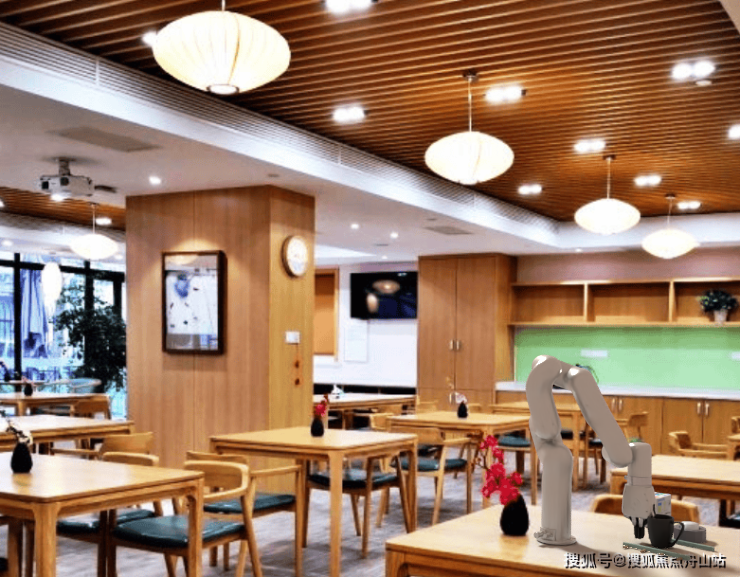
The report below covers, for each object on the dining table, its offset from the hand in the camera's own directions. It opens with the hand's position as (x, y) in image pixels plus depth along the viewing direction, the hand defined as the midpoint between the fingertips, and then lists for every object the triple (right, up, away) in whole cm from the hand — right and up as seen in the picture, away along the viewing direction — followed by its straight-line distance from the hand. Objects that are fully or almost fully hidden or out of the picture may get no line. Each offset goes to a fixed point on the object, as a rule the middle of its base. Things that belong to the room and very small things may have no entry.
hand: (639, 538), depth 290 cm
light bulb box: (+13, -3, +25) cm, 28 cm away
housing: (+18, -2, +4) cm, 18 cm away
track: (+6, -1, -8) cm, 10 cm away
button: (+18, -1, +4) cm, 18 cm away
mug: (+6, -1, -7) cm, 9 cm away
